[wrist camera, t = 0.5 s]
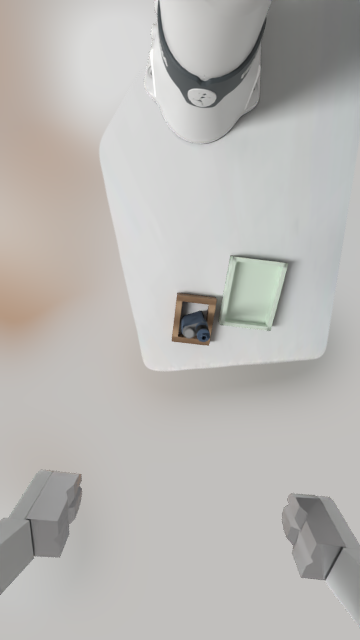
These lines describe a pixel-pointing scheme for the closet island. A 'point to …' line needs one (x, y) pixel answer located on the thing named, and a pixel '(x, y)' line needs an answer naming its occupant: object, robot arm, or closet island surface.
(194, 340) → the holder
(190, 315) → the vaping device
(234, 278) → the tray
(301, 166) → the closet island surface
